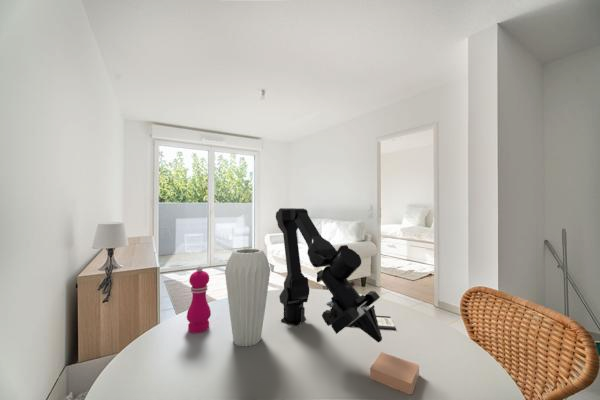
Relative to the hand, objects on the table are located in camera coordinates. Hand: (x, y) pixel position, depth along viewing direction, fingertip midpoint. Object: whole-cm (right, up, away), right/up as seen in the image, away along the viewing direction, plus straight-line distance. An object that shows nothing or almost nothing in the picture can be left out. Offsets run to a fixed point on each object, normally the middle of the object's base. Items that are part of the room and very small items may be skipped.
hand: (380, 341), depth 62 cm
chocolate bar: (+3, -8, +26) cm, 28 cm away
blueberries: (-6, -9, +41) cm, 43 cm away
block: (-1, -6, +1) cm, 6 cm away
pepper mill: (-52, -8, +21) cm, 57 cm away
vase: (-35, -8, +14) cm, 39 cm away
